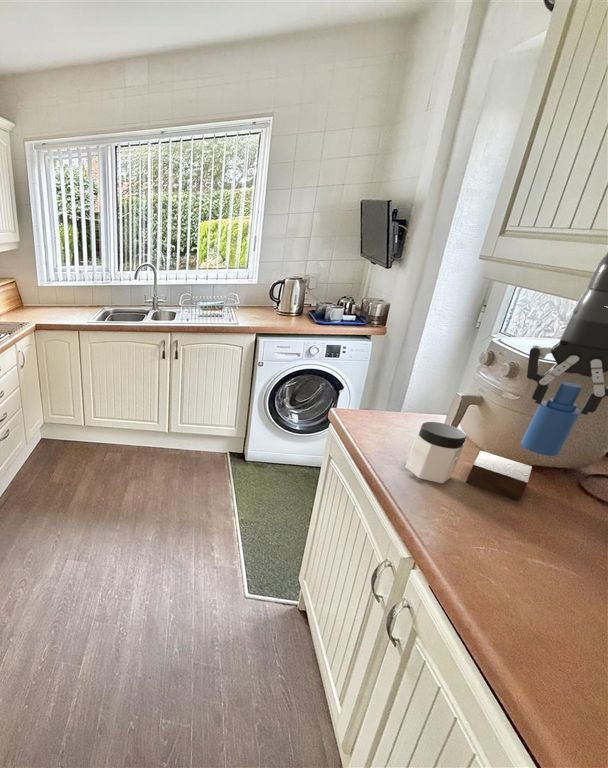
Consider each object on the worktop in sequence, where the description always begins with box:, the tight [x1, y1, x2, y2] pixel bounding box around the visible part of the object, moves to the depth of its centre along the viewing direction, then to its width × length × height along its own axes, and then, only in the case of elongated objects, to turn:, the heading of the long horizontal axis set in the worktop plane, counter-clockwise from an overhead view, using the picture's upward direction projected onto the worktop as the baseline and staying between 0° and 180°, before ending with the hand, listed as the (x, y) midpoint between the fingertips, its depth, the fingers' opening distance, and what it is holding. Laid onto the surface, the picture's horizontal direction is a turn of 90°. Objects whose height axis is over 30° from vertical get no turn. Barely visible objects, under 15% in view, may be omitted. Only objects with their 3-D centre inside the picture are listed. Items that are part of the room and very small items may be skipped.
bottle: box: [520, 381, 583, 457], centre depth 75 cm, size 5×5×14 cm
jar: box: [405, 421, 467, 485], centre depth 96 cm, size 9×8×12 cm
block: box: [465, 450, 533, 502], centre depth 93 cm, size 9×9×5 cm
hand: (560, 407), depth 74 cm, fingers closed on bottle, 5 cm apart
